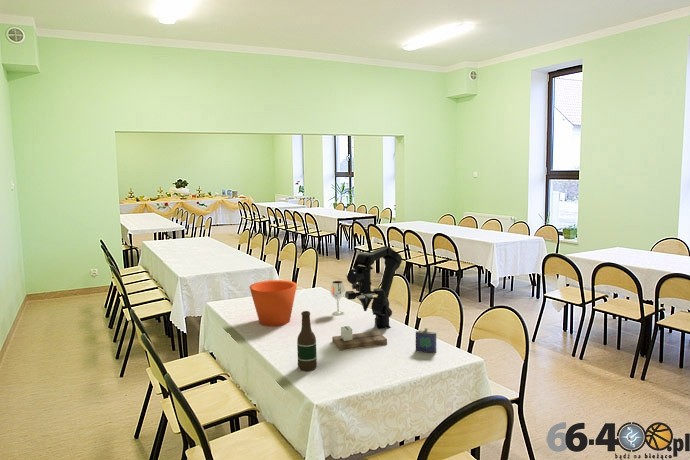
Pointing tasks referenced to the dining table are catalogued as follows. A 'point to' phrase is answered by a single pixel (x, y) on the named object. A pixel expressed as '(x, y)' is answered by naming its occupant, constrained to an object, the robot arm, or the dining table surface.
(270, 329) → the dining table surface
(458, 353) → the dining table surface
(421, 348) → the flask
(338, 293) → the wineglass
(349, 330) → the fader knob
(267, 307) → the flowerpot
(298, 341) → the beer bottle
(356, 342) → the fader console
